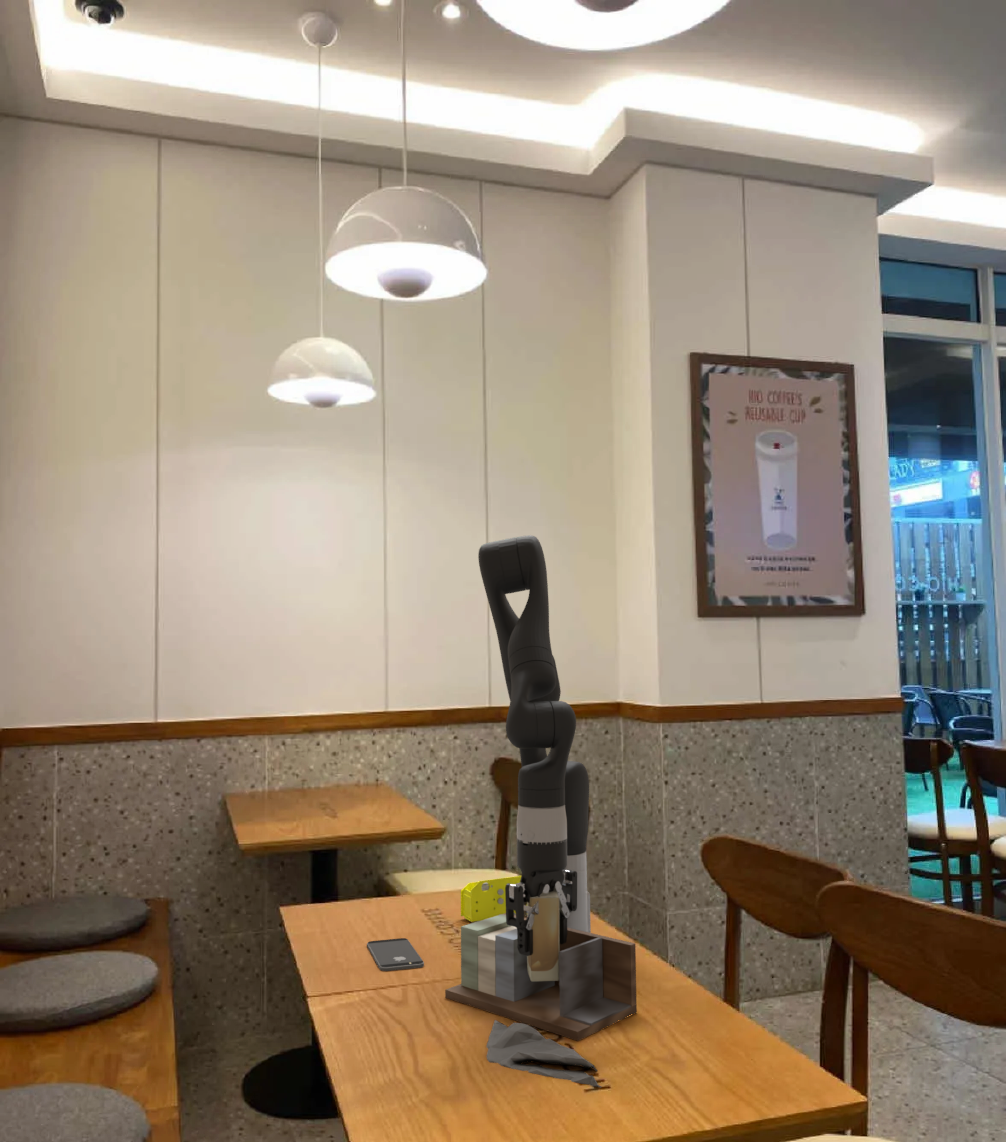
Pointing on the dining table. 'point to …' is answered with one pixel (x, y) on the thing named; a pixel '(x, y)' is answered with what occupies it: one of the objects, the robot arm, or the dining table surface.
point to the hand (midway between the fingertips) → (542, 948)
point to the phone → (394, 954)
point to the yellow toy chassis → (485, 898)
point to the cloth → (534, 1053)
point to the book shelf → (551, 997)
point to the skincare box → (545, 939)
